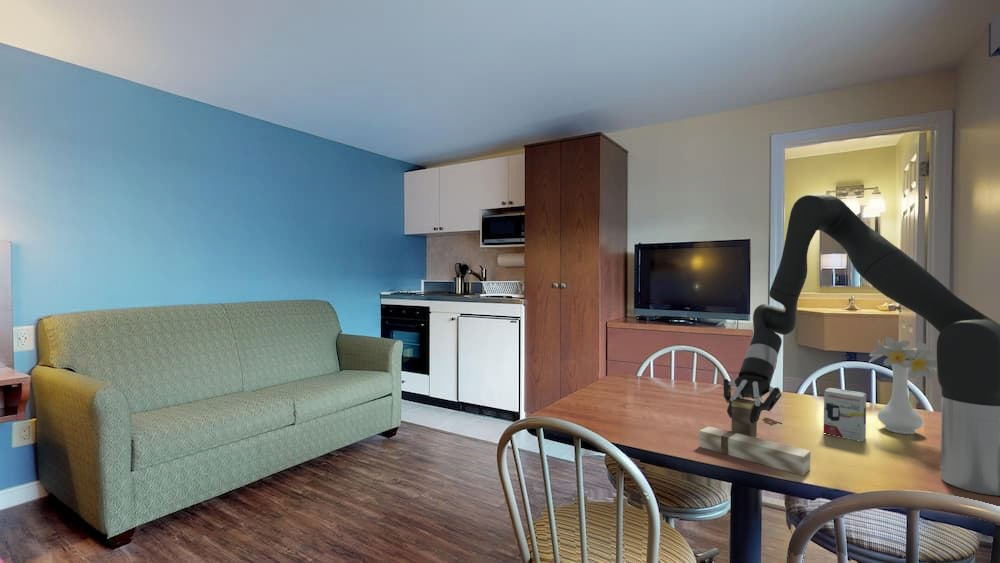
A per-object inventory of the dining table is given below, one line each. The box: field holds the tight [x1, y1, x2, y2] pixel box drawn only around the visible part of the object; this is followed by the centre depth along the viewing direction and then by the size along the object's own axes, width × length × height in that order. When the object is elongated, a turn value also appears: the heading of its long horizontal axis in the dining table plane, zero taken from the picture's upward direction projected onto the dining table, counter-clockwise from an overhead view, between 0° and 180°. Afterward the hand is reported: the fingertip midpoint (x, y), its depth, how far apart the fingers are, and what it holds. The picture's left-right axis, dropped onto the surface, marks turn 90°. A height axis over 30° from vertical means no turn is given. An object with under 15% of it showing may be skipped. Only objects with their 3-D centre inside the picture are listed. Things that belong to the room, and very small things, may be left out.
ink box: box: [822, 387, 867, 442], centre depth 119 cm, size 9×5×12 cm, turn 44°
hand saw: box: [761, 417, 783, 426], centre depth 140 cm, size 24×5×1 cm, turn 13°
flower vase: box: [868, 336, 937, 435], centre depth 123 cm, size 13×18×25 cm
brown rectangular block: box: [731, 398, 758, 438], centre depth 115 cm, size 4×4×9 cm
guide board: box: [698, 425, 811, 477], centre depth 105 cm, size 22×5×4 cm, turn 42°
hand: (741, 418), depth 114 cm, fingers closed on brown rectangular block, 4 cm apart
